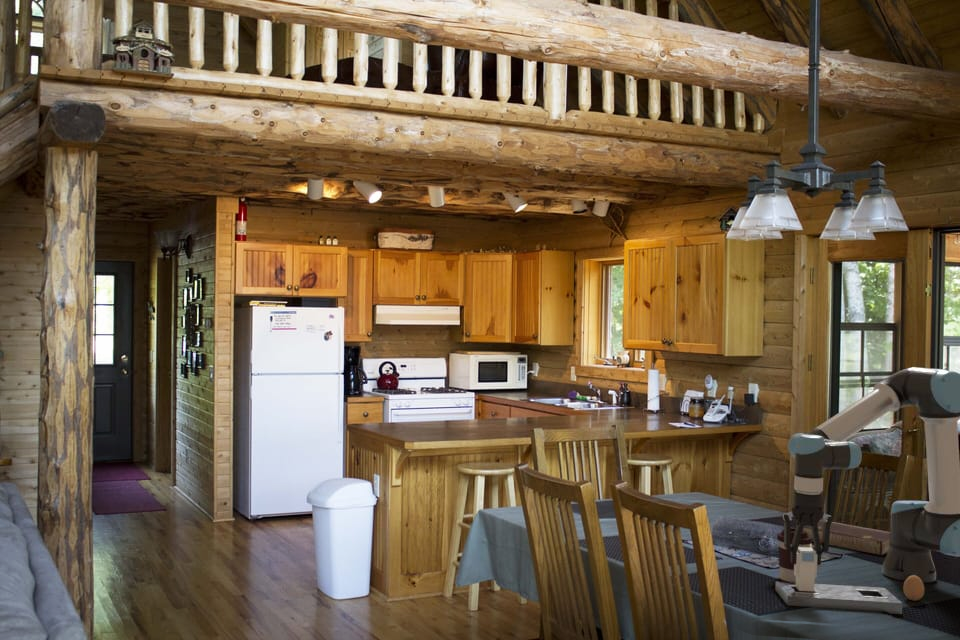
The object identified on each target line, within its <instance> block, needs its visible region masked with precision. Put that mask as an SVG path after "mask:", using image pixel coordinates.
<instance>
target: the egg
mask: <svg viewBox="0 0 960 640" xmlns="http://www.w3.org/2000/svg"><path fill="white" fill-rule="evenodd" d="M924 584H925V583H923V582H922V580H921V579H920V578H919V577H918V576H916V575H912V576H909V577H908V578H907V579H906V581H903V589H902V590H903V593H904V595H905V596H906V597H907V599H908V600H909V601H914V602H915V601H919V600H921V598H923V597H924V595H925V585H924Z"/></svg>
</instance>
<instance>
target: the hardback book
mask: <svg viewBox="0 0 960 640" xmlns="http://www.w3.org/2000/svg"><path fill="white" fill-rule="evenodd" d="M823 523H824V521H823V519H820V521H819V522H818V523H817V525H818V533H819V539H820V544H822V536H823ZM803 530H805V531H807V533H808V535H809V536H811V537H812V542H813V536H812V530H811V527H810V526H809V525H807V526H804V529H803ZM829 546H834V547H838V548H845V549H848V550H849V549H850V550H855V551H860V552H863V553H865V552H866V553H870V554H874V555H878V556H883V555H885V554H887V553H888V550H889V546H890V531H886V530H885V531H884V530H880V529H876V528H875V529H874V528H870V527H869V528H867V527H865V526H863V527H862V526H858V525H852V524H846V523H843V522H842V523H840V522H836V521H832V523H831V525H830V537H829Z"/></svg>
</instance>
